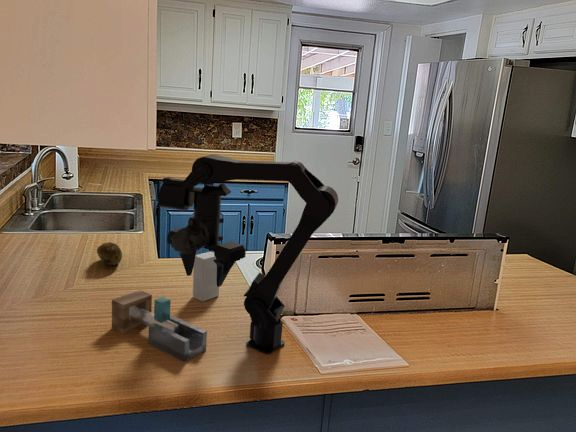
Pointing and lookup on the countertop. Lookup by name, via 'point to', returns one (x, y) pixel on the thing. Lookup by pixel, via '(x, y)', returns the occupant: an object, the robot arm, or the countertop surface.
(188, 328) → the channel
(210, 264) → the skincare box
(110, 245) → the potato
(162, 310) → the rod
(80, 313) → the countertop surface
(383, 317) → the countertop surface
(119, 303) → the socket block
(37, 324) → the countertop surface
